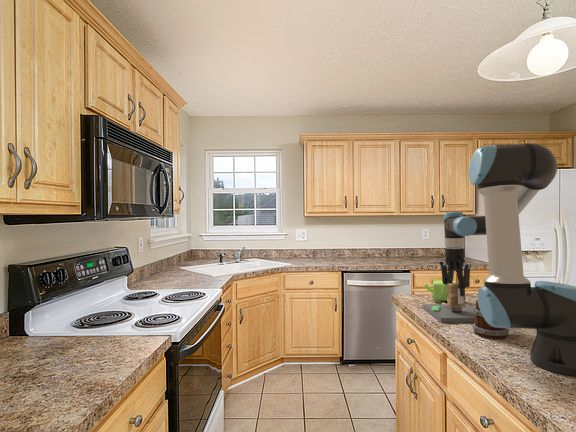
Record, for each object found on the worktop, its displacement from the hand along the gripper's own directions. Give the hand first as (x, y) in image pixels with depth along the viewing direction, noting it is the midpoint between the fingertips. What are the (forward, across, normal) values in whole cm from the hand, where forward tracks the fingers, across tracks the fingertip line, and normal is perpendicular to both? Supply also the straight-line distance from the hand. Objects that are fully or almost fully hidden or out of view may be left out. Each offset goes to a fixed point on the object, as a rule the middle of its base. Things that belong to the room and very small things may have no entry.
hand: (456, 302), depth 149 cm
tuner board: (+6, +2, -1) cm, 6 cm away
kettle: (+6, +18, -18) cm, 26 cm away
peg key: (+4, +3, -1) cm, 5 cm away
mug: (+6, -20, +9) cm, 23 cm away
